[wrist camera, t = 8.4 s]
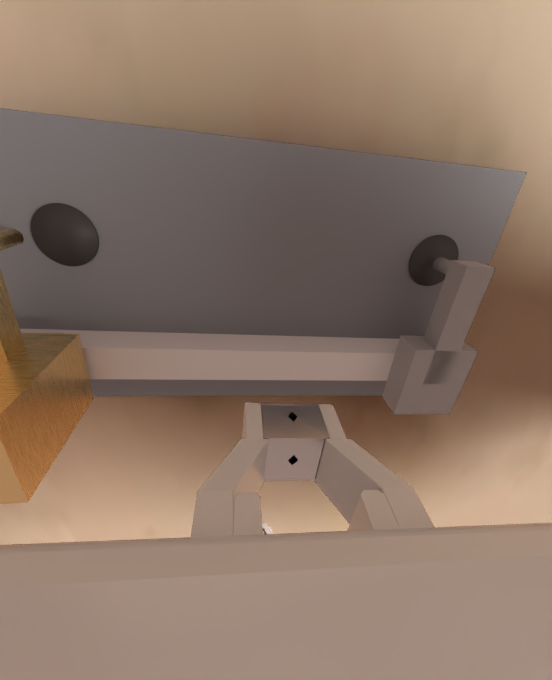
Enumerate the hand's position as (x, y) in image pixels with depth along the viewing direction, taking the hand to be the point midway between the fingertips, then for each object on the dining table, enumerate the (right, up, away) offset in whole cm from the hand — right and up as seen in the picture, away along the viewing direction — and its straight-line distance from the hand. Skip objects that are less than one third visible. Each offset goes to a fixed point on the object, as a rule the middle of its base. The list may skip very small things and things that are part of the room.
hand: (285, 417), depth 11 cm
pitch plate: (-2, +5, +5) cm, 7 cm away
